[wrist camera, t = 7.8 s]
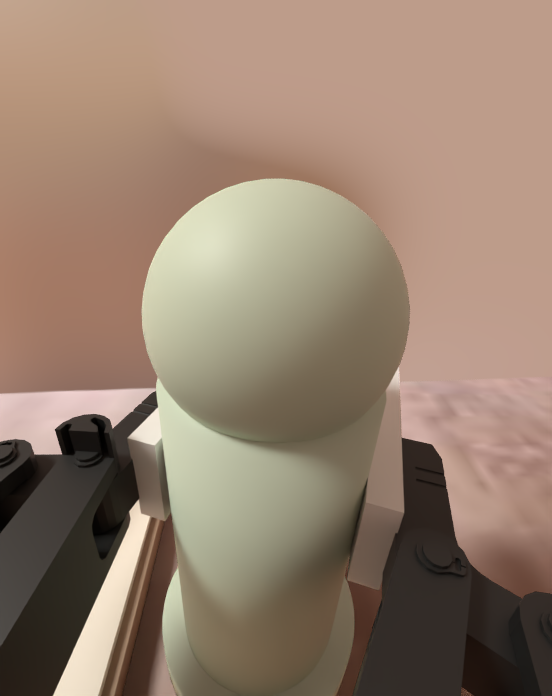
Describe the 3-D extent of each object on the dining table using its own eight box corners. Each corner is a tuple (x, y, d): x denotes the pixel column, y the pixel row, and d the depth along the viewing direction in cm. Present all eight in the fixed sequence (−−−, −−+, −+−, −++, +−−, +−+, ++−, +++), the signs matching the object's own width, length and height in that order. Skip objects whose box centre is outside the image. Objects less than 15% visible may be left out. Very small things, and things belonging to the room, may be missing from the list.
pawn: (381, 612, 13) (528, 192, 6) (262, 828, 9) (346, 204, 2) (256, 508, 17) (270, 173, 10) (128, 623, 12) (7, 163, 6)
